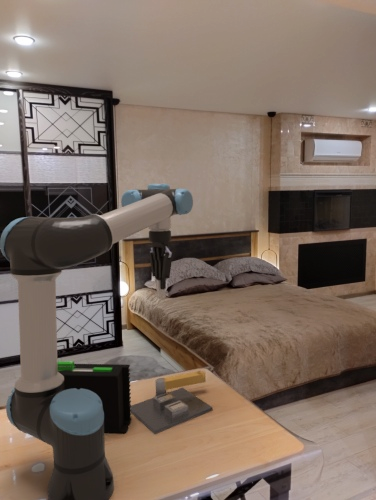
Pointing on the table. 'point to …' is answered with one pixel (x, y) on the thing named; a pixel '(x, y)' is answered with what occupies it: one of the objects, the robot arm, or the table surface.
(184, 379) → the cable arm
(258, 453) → the table surface
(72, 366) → the electronic device
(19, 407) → the robot arm
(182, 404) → the chassis plate
